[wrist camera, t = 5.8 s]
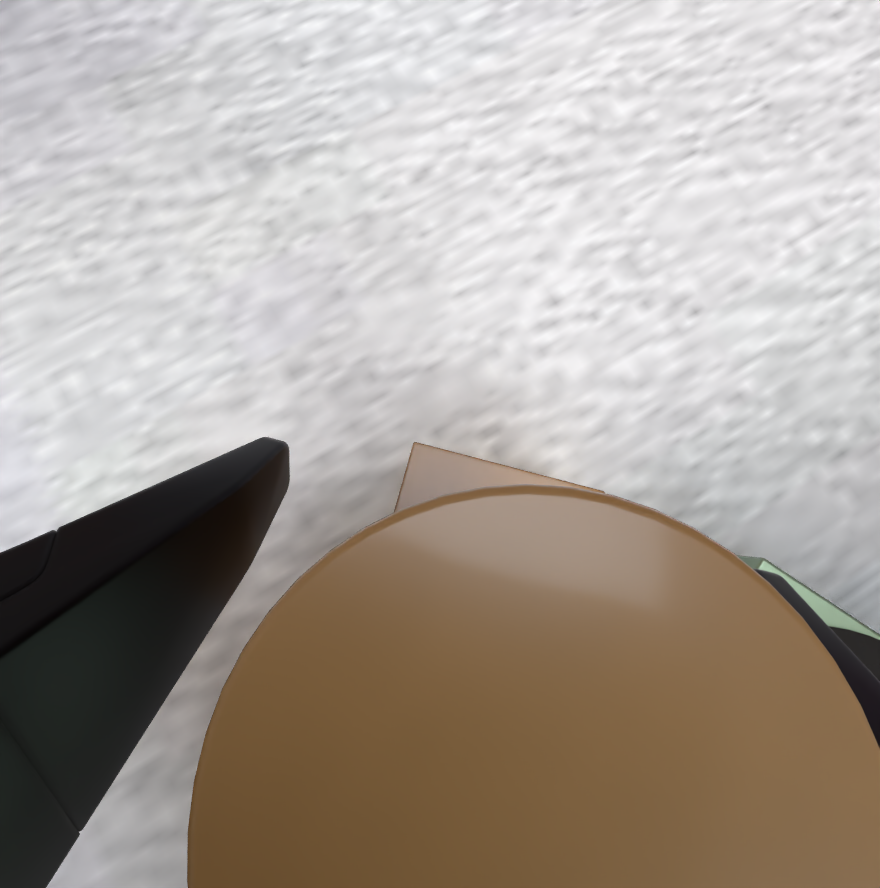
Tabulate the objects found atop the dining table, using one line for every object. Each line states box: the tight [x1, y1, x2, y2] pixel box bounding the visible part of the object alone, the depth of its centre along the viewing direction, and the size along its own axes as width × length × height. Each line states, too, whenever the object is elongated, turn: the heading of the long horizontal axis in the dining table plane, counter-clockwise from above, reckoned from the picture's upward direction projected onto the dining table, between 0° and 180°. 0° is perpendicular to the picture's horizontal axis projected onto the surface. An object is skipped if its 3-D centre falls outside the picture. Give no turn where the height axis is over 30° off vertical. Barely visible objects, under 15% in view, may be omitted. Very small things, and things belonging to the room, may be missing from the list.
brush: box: [187, 442, 880, 888], centre depth 9 cm, size 6×5×14 cm
